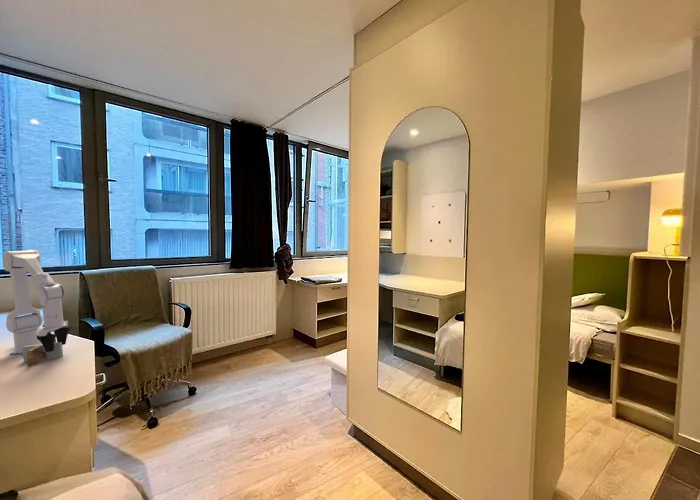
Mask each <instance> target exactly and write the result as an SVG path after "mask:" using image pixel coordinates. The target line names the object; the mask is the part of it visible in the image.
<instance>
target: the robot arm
mask: <svg viewBox="0 0 700 500" xmlns="http://www.w3.org/2000/svg"><path fill="white" fill-rule="evenodd" d="M40 261H41V254H40V252H39V251H38V250H37V249H33V250H32V249H31V250H13V251H9V250H7V251H5V252H4V253H3V255H2V264H3V268H4V271H5V272H9V275H10V279H11V281H10V282H11V286H12V293H13V294H12V295H13V301H14V302H13V303H14V309H13V310H12V311H10V312H9V313H8V314H7V315H6V322H5V327H6V329H7V331H8V332H9V333H12V334H13V341H14V342H13V343H14V350H13V351H11V352H9V354H8V355H16V354H23V349H22V347H24V346H28V345H37V344H42V345H43V346H44V349H45V351H46V352H51V351H54V341H55V339H56V342H62V346H64V345H66V343H67V339H68V335H69V332H70V330H71V329H72V326H71V325H69V320H64V312H63V298H64V296H65V289H64V287H63V285H62V284H60V283H58V282H56V281H54V279H53V278H52V276H51V275H50V274H49V273H47V272H44V270H43V267H42V266H41V265H40ZM28 274H29V275H30V276H31V278H30V281H31V283H32V284H33V286H34V288H35V289H36V290H37V297H38V300H39V304H40V306H42V307H41V308H42V315H41V310H40V309H37V308H36V307H32V301H31V300H32V299H31V294H30V285H29V279H28ZM42 324H43V328H41V326H42Z"/></svg>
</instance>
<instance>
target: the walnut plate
mask: <svg viewBox="0 0 700 500" xmlns="http://www.w3.org/2000/svg"><path fill="white" fill-rule="evenodd" d="M56 342H57V338H55V341H54V343H56ZM27 360H28V361H27V366H28V367H34V366H36V365H38V364H39V363H41V362H43V361H44V360H47V354H46V352H42V346H36V347H34V348H32V349H30V350H28V351H27Z"/></svg>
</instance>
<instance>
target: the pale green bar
mask: <svg viewBox="0 0 700 500" xmlns="http://www.w3.org/2000/svg"><path fill="white" fill-rule="evenodd" d="M36 346H42V352H46V351H45V349H44V346H43V345H42V344H37V345H28V346H24V347H22V349H23V353H22V358H23V359H22V360H23V363H26V362H27V363H28V360H27V351H28V350H30V349H32V348H34V347H36ZM63 351H64V350H63V345H62V342H57V341H56V343H54V351H51V352H46V354H47V358H46V360H52V359H53V360H54V359H59V358H63V357H64V352H63Z"/></svg>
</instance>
